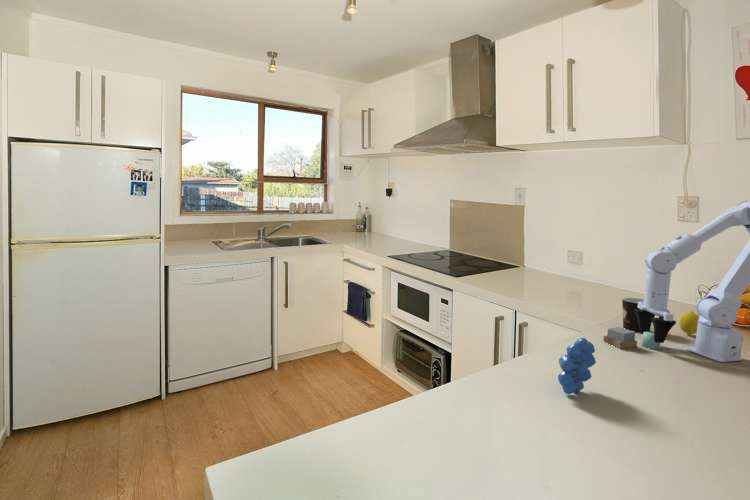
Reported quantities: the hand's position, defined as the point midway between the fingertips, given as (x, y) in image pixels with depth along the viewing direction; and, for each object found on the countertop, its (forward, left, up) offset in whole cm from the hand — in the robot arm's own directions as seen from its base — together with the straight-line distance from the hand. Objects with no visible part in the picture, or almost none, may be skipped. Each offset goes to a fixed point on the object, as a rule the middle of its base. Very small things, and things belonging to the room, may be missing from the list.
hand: (651, 337), depth 118 cm
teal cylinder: (0, 0, -3) cm, 3 cm away
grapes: (-20, +44, -3) cm, 48 cm away
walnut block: (+3, +8, -3) cm, 9 cm away
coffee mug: (+16, -11, -3) cm, 20 cm away
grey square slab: (+3, +8, -1) cm, 9 cm away
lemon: (+7, -23, -3) cm, 24 cm away
